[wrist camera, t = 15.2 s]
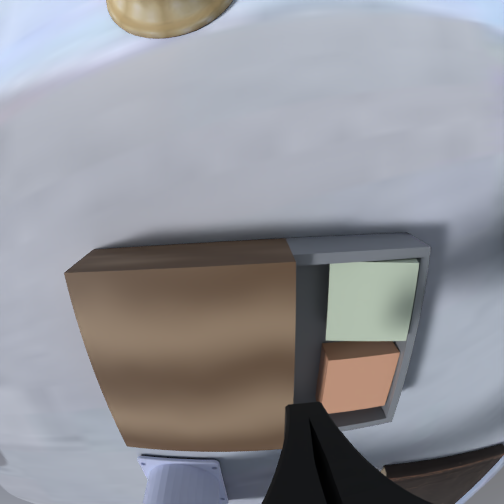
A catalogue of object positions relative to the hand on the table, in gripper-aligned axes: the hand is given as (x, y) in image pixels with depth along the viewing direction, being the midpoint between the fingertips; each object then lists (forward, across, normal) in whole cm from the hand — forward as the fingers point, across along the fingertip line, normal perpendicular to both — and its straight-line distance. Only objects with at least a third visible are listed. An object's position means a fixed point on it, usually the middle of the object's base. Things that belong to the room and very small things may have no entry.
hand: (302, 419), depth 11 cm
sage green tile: (+6, -5, -2) cm, 8 cm away
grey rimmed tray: (+10, -4, +2) cm, 11 cm away
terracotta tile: (+7, -5, +5) cm, 10 cm away
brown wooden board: (+10, +6, +2) cm, 11 cm away
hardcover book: (+10, -21, +32) cm, 40 cm away
